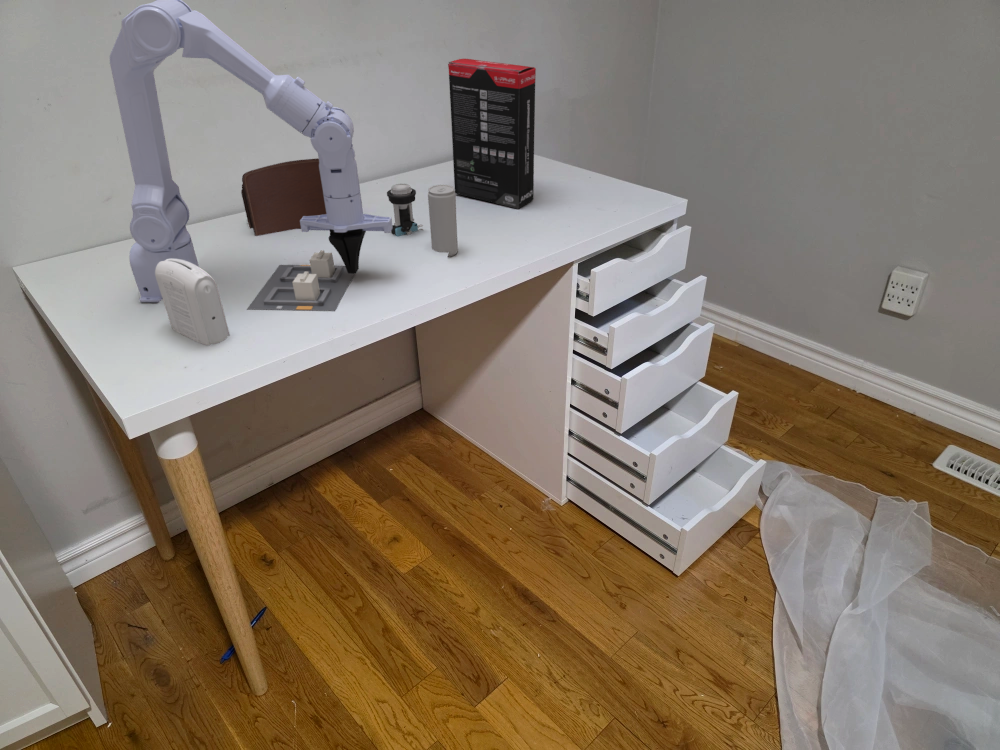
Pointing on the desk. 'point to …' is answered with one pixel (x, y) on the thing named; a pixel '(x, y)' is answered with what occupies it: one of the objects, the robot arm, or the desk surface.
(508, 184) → the graphics card box
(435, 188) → the beverage can
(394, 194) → the push button
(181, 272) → the photo printer
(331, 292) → the switch bank
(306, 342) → the desk surface
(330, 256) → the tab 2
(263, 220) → the letter holder
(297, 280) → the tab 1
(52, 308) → the desk surface
